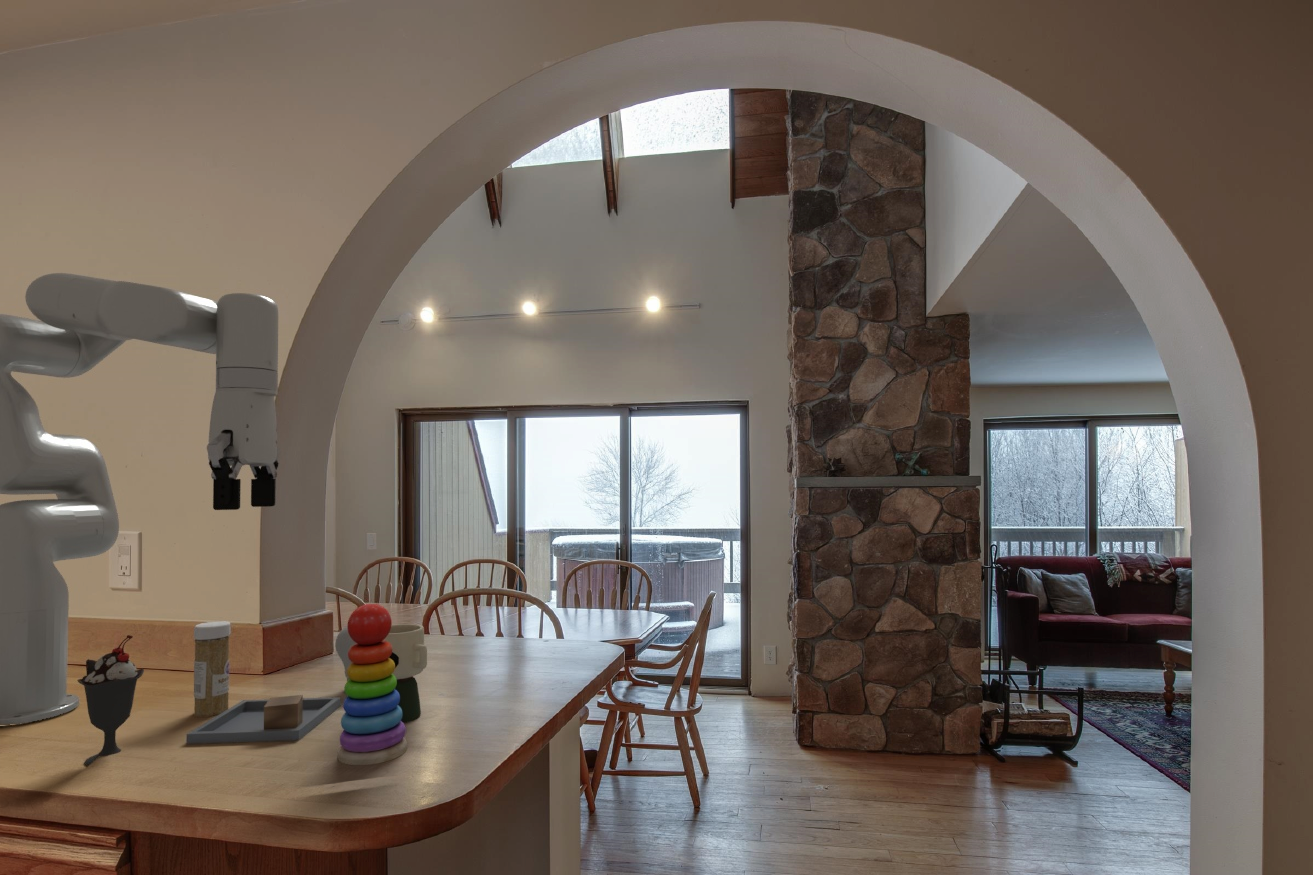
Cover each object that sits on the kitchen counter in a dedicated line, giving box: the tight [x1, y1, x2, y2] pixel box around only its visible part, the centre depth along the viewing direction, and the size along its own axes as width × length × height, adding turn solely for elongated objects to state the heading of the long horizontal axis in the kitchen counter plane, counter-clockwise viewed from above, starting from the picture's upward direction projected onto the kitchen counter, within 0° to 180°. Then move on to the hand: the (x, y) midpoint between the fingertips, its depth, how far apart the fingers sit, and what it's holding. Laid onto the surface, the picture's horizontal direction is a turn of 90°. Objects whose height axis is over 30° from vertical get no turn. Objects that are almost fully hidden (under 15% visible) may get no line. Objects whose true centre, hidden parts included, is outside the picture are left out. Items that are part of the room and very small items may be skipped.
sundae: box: [77, 634, 145, 767], centre depth 91 cm, size 7×7×15 cm
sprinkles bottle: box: [193, 620, 231, 718], centre depth 106 cm, size 5×5×13 cm
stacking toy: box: [337, 603, 408, 766], centre depth 89 cm, size 8×8×19 cm
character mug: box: [383, 623, 428, 724], centre depth 102 cm, size 11×7×13 cm, turn 62°
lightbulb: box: [334, 626, 357, 682], centre depth 116 cm, size 6×6×11 cm
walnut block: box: [264, 694, 304, 729], centre depth 97 cm, size 4×4×4 cm
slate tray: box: [185, 696, 342, 745], centre depth 100 cm, size 14×14×2 cm
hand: (245, 507), depth 100 cm, fingers open, 9 cm apart
